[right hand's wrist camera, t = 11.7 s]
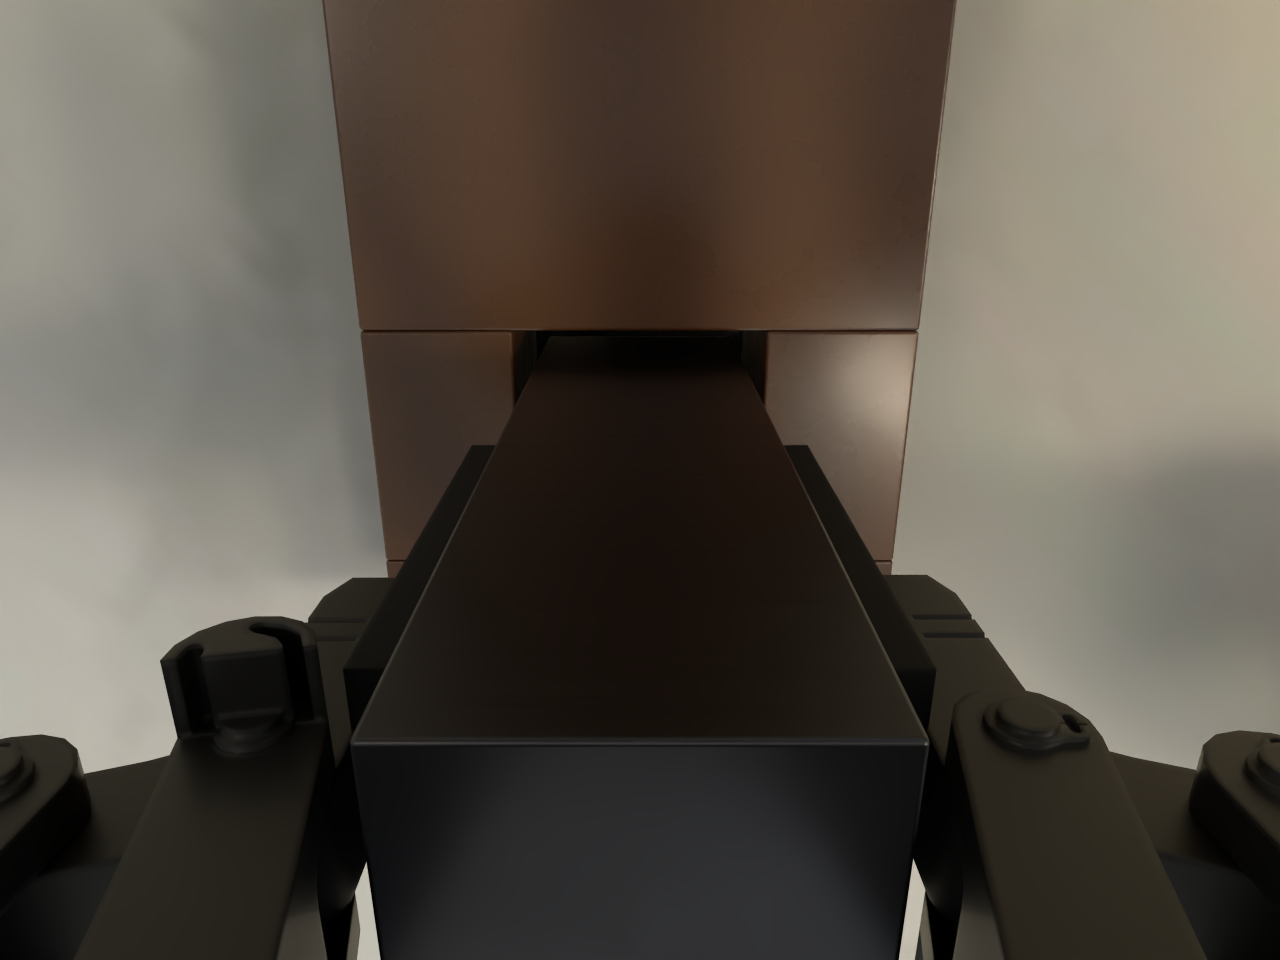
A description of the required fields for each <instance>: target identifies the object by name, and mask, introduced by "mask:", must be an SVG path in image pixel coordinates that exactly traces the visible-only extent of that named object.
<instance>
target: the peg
mask: <svg viewBox="0 0 1280 960" xmlns="http://www.w3.org/2000/svg"><path fill="white" fill-rule="evenodd" d="M929 744H930V741H929V738H928V736H927V734H926V732H925V730H924V728H923V726H922V724H921V722H920V720H919V718H918V716H917V714H916V712H915V710H914V708H913V706H912V704H911V702H910V700H909V698H908V696H907V694H906V692H905V690H904V688H903V686H902V684H901V681H900V679H899V677H898V675H897V673H896V671H895V669H894V667H893V665H892V663H891V661H890V659H889V657H888V655H887V653H886V651H885V649H884V647H883V645H882V643H881V641H880V639H879V637H878V635H877V633H876V631H875V629H874V627H873V625H872V623H871V621H870V619H869V617H868V615H867V613H866V611H865V609H864V607H863V605H862V603H861V601H860V599H859V597H858V595H857V593H856V591H855V589H854V587H853V585H852V583H851V581H850V578H849V576H848V574H847V572H846V570H845V568H844V566H843V564H842V562H841V560H840V558H839V556H838V554H837V552H836V550H835V548H834V546H833V544H832V542H831V540H830V538H829V536H828V534H827V532H826V530H825V528H824V526H823V524H822V522H821V520H820V518H819V516H818V514H817V512H816V510H815V508H814V506H813V504H812V502H811V500H810V498H809V496H808V494H807V492H806V490H805V488H804V486H803V484H802V482H801V480H800V478H799V476H798V473H797V471H796V469H795V467H794V465H793V463H792V461H791V459H790V457H789V455H788V453H787V451H786V449H785V447H784V445H783V443H782V441H781V439H780V437H779V435H778V433H777V431H776V429H775V427H774V425H773V423H772V421H771V419H770V417H769V415H768V413H767V411H766V409H765V407H764V405H763V403H762V401H761V399H760V397H759V395H758V393H757V391H756V389H755V387H754V385H753V383H752V381H751V379H750V377H749V375H748V373H747V370H746V368H745V366H744V364H743V362H742V360H741V358H740V356H739V354H738V352H737V350H736V348H735V346H734V344H733V342H732V340H731V338H730V337H728V336H551V337H549V339H548V341H547V343H546V345H545V347H544V349H543V351H542V353H541V355H540V357H539V359H538V361H537V363H536V365H535V367H534V369H533V371H532V373H531V375H530V377H529V379H528V381H527V383H526V385H525V387H524V389H523V392H522V394H521V396H520V398H519V400H518V402H517V404H516V406H515V408H514V410H513V412H512V414H511V416H510V418H509V420H508V422H507V424H506V426H505V428H504V430H503V432H502V434H501V436H500V438H499V440H498V442H497V444H496V446H495V448H494V450H493V452H492V454H491V456H490V458H489V460H488V462H487V464H486V466H485V468H484V470H483V472H482V474H481V476H480V478H479V480H478V482H477V484H476V486H475V488H474V490H473V492H472V494H471V496H470V498H469V501H468V503H467V505H466V507H465V509H464V511H463V513H462V515H461V517H460V519H459V521H458V523H457V525H456V527H455V529H454V531H453V533H452V535H451V537H450V539H449V541H448V543H447V545H446V547H445V549H444V551H443V553H442V555H441V557H440V559H439V561H438V563H437V565H436V567H435V569H434V571H433V573H432V575H431V577H430V579H429V581H428V583H427V585H426V587H425V589H424V591H423V593H422V595H421V597H420V599H419V601H418V603H417V605H416V608H415V610H414V612H413V614H412V616H411V618H410V620H409V622H408V624H407V626H406V628H405V630H404V632H403V634H402V636H401V638H400V640H399V642H398V644H397V646H396V648H395V650H394V652H393V654H392V656H391V658H390V660H389V662H388V664H387V666H386V668H385V670H384V672H383V674H382V676H381V678H380V680H379V682H378V684H377V686H376V688H375V690H374V692H373V694H372V696H371V698H370V700H369V702H368V704H367V706H366V708H365V710H364V712H363V714H362V717H361V719H360V721H359V723H358V725H357V727H356V729H355V731H354V733H353V735H352V737H351V739H350V749H351V756H352V763H353V770H354V777H355V784H356V791H357V798H358V805H359V812H360V819H361V826H362V833H363V840H364V847H365V854H366V861H367V868H368V874H369V881H370V888H371V895H372V902H373V909H374V916H375V923H376V930H377V937H378V944H379V951H380V958H381V960H899V953H900V946H901V939H902V933H903V926H904V919H905V912H906V905H907V898H908V891H909V884H910V877H911V870H912V863H913V856H914V849H915V842H916V835H917V828H918V821H919V814H920V807H921V800H922V793H923V786H924V779H925V772H926V765H927V758H928V751H929Z"/></svg>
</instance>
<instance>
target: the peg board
mask: <svg viewBox="0 0 1280 960" xmlns="http://www.w3.org/2000/svg"><path fill="white" fill-rule="evenodd" d="M956 1H957V0H322V3H323V11H324V20H325V29H326V38H327V46H328V55H329V64H330V72H331V81H332V90H333V99H334V107H335V116H336V125H337V133H338V142H339V151H340V159H341V168H342V177H343V186H344V194H345V203H346V212H347V220H348V229H349V238H350V247H351V255H352V264H353V273H354V281H355V290H356V299H357V307H358V316H359V325H360V328H361V330H363V331H361V343H362V351H363V360H364V369H365V378H366V386H367V395H368V404H369V412H370V421H371V430H372V438H373V447H374V456H375V465H376V473H377V482H378V491H379V499H380V508H381V517H382V526H383V534H384V543H385V552H386V558H387V559H388V560H387V562H386V563H387V571H388V578H395V577H396V576H397V574H398V572H399V570H400V569H401V567H402V565H403V564H404V562H405V560H406V558H407V557H408V555H409V553H410V551H411V550H412V548H413V546H414V544H415V543H416V541H417V539H418V538H419V536H420V534H421V532H422V531H423V529H424V527H425V525H426V524H427V522H428V520H429V518H430V517H431V515H432V513H433V512H434V510H435V508H436V506H437V505H438V503H439V501H440V499H441V498H442V496H443V494H444V492H445V491H446V489H447V487H448V486H449V484H450V482H451V480H452V479H453V477H454V475H455V473H456V472H457V470H458V468H459V466H460V465H461V463H462V461H463V460H464V458H465V456H466V454H467V453H468V451H469V449H470V447H471V446H472V445H496V444H497V442H498V440H499V438H500V436H501V434H502V432H503V430H504V428H505V426H506V424H507V422H508V420H509V418H510V416H511V414H512V412H513V410H514V408H515V406H516V404H517V402H518V400H519V398H520V396H521V394H522V392H523V389H524V387H525V385H526V383H527V381H528V379H529V377H530V375H531V373H532V371H533V369H534V367H535V365H536V363H537V340H536V331H743V339H742V362H743V364H744V366H745V368H746V370H747V373H748V375H749V377H750V379H751V381H752V383H753V385H754V387H755V389H756V391H757V393H758V395H759V397H760V399H761V401H762V403H763V405H764V407H765V409H766V411H767V413H768V415H769V417H770V419H771V421H772V423H773V425H774V427H775V429H776V431H777V433H778V435H779V437H780V439H781V441H782V443H783V445H808V447H809V448H810V450H811V452H812V454H813V455H814V457H815V459H816V461H817V462H818V464H819V466H820V467H821V469H822V471H823V473H824V474H825V476H826V478H827V480H828V481H829V483H830V485H831V487H832V488H833V490H834V492H835V494H836V495H837V497H838V499H839V500H840V502H841V504H842V506H843V507H844V509H845V511H846V513H847V514H848V516H849V518H850V520H851V521H852V523H853V525H854V526H855V528H856V530H857V532H858V533H859V535H860V537H861V539H862V540H863V542H864V544H865V546H866V547H867V549H868V551H869V552H870V554H871V556H872V558H873V559H874V561H875V563H876V565H877V566H878V568H879V570H880V572H881V573H882V575H891V570H892V558H893V551H894V542H895V533H896V525H897V516H898V507H899V499H900V490H901V481H902V473H903V464H904V455H905V446H906V438H907V429H908V420H909V412H910V403H911V394H912V385H913V377H914V368H915V359H916V351H917V342H918V332H917V331H916V330H918V328H919V323H920V314H921V306H922V297H923V288H924V280H925V271H926V262H927V253H928V245H929V236H930V227H931V219H932V210H933V201H934V192H935V184H936V175H937V166H938V158H939V149H940V140H941V131H942V123H943V114H944V105H945V97H946V88H947V79H948V70H949V62H950V53H951V44H952V35H953V27H954V18H955V9H956Z"/></svg>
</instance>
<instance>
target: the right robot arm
mask: <svg viewBox="0 0 1280 960" xmlns="http://www.w3.org/2000/svg"><path fill="white" fill-rule="evenodd" d="M495 446H496V445H472V446H471V447H470V449H469V451H468V453H467V454H466V456H465V458H464V460H463V461H462V463H461V465H460V466H459V468H458V470H457V472H456V473H455V475H454V477H453V479H452V480H451V482H450V484H449V486H448V487H447V489H446V491H445V492H444V494H443V496H442V498H441V499H440V501H439V503H438V505H437V506H436V508H435V510H434V512H433V513H432V515H431V517H430V518H429V520H428V522H427V524H426V525H425V527H424V529H423V531H422V532H421V534H420V536H419V538H418V539H417V541H416V543H415V544H414V546H413V548H412V550H411V551H410V553H409V555H408V557H407V558H406V560H405V562H404V564H403V565H402V567H401V569H400V570H399V572H398V574H397V576H396V577H395V578H352V579H350V580H349V581H347V582H346V583H344V584H342V585H341V586H339V587H338V588H336V589H335V590H333V591H332V592H330V593H328V594H327V595H325V596H324V597H323V598H322V600H321V601H320V603H319V604H318V605H317V607H316V608H315V610H314V611H313V612H312V614H311V615H310V617H309V618H308V623H304V622H302V621H298V620H294V619H290V618H286V617H282V616H272V617H250V618H244V619H239V620H233V621H227V622H224V623H221V624H218V625H215V626H212V627H210V628H207V629H204V630H201V631H198V632H196V633H195V634H193V635H191V636H190V637H188V638H186V639H184V640H183V641H181V642H179V643H178V644H176V645H174V646H173V647H172V649H171V650H170V651H169V652H168V653H167V654H166V655H165V656H164V657H163V658H162V659H161V660H160V662H161V667H162V671H163V676H164V680H165V684H166V689H167V693H168V698H169V702H170V706H171V711H172V715H173V719H174V724H175V728H176V733H177V737H178V739H177V741H176V743H175V745H174V747H173V749H172V751H171V754H170V755H169V756H165V757H162V758H158V759H154V760H150V761H146V762H141V763H136V764H131V765H126V766H121V767H116V768H111V769H106V770H101V771H96V772H91V773H86V774H84V772H83V768H82V765H81V761H80V758H79V754H78V751H77V749H76V748H75V747H74V746H73V745H72V744H70V743H69V742H68V741H67V740H66V739H64V738H58V737H53V736H47V735H31V736H20V737H9V738H4V739H0V960H357V954H358V945H359V937H360V924H359V917H358V910H357V903H356V897H355V890H356V887H357V885H358V882H359V880H360V877H361V874H362V872H363V869H364V867H365V864H366V854H365V847H364V840H363V833H362V826H361V819H360V812H359V805H358V798H357V791H356V784H355V777H354V770H353V763H352V756H351V749H350V739H351V737H352V735H353V733H354V731H355V729H356V727H357V725H358V723H359V721H360V719H361V717H362V714H363V712H364V710H365V708H366V706H367V704H368V702H369V700H370V698H371V696H372V694H373V692H374V690H375V688H376V686H377V684H378V682H379V680H380V678H381V676H382V674H383V672H384V670H385V668H386V666H387V664H388V662H389V660H390V658H391V656H392V654H393V652H394V650H395V648H396V646H397V644H398V642H399V640H400V638H401V636H402V634H403V632H404V630H405V628H406V626H407V624H408V622H409V620H410V618H411V616H412V614H413V612H414V610H415V608H416V605H417V603H418V601H419V599H420V597H421V595H422V593H423V591H424V589H425V587H426V585H427V583H428V581H429V579H430V577H431V575H432V573H433V571H434V569H435V567H436V565H437V563H438V561H439V559H440V557H441V555H442V553H443V551H444V549H445V547H446V545H447V543H448V541H449V539H450V537H451V535H452V533H453V531H454V529H455V527H456V525H457V523H458V521H459V519H460V517H461V515H462V513H463V511H464V509H465V507H466V505H467V503H468V501H469V498H470V496H471V494H472V492H473V490H474V488H475V486H476V484H477V482H478V480H479V478H480V476H481V474H482V472H483V470H484V468H485V466H486V464H487V462H488V460H489V458H490V456H491V454H492V452H493V450H494V448H495ZM784 447H785V449H786V451H787V453H788V455H789V457H790V459H791V461H792V463H793V465H794V467H795V469H796V471H797V473H798V476H799V478H800V480H801V482H802V484H803V486H804V488H805V490H806V492H807V494H808V496H809V498H810V500H811V502H812V504H813V506H814V508H815V510H816V512H817V514H818V516H819V518H820V520H821V522H822V524H823V526H824V528H825V530H826V532H827V534H828V536H829V538H830V540H831V542H832V544H833V546H834V548H835V550H836V552H837V554H838V556H839V558H840V560H841V562H842V564H843V566H844V568H845V570H846V572H847V574H848V576H849V578H850V581H851V583H852V585H853V587H854V589H855V591H856V593H857V595H858V597H859V599H860V601H861V603H862V605H863V607H864V609H865V611H866V613H867V615H868V617H869V619H870V621H871V623H872V625H873V627H874V629H875V631H876V633H877V635H878V637H879V639H880V641H881V643H882V645H883V647H884V649H885V651H886V653H887V655H888V657H889V659H890V661H891V663H892V665H893V667H894V669H895V671H896V673H897V675H898V677H899V679H900V681H901V684H902V686H903V688H904V690H905V692H906V694H907V696H908V698H909V700H910V702H911V704H912V706H913V708H914V710H915V712H916V714H917V716H918V718H919V720H920V722H921V724H922V726H923V728H924V730H925V732H926V734H927V736H928V738H929V741H930V744H929V751H928V758H927V765H926V772H925V779H924V786H923V793H922V800H921V807H920V814H919V821H918V828H917V835H916V842H915V849H914V856H913V859H914V861H915V864H916V866H917V869H918V871H919V874H920V877H921V879H922V882H923V884H924V887H925V897H924V903H923V910H922V916H921V923H920V930H919V936H918V943H917V949H916V956H915V960H1280V735H1277V734H1272V733H1261V732H1250V731H1233V732H1228V733H1222V734H1216V735H1215V736H1214V737H1212V738H1211V739H1210V740H1209V741H1208V742H1206V743H1205V744H1204V745H1203V748H1202V752H1201V755H1200V759H1199V762H1198V766H1197V769H1196V770H1193V769H1188V768H1183V767H1178V766H1173V765H1168V764H1163V763H1158V762H1153V761H1148V760H1143V759H1138V758H1133V757H1129V756H1125V755H1121V754H1118V753H1114V752H1110V751H1109V750H1108V748H1107V746H1106V744H1105V741H1104V739H1103V737H1102V736H1101V735H1100V733H1099V732H1098V731H1097V730H1096V728H1095V727H1094V726H1093V724H1092V723H1091V722H1090V721H1089V720H1088V719H1087V718H1085V717H1084V716H1083V715H1081V714H1080V713H1078V712H1077V711H1075V710H1074V709H1072V708H1071V707H1069V706H1068V705H1066V704H1064V703H1061V702H1059V701H1056V700H1054V699H1052V698H1049V697H1047V696H1044V695H1042V694H1039V693H1034V692H1029V691H1026V690H1025V689H1024V687H1023V686H1022V685H1021V683H1020V682H1019V681H1018V679H1017V678H1016V676H1015V675H1014V674H1013V672H1012V671H1011V669H1010V668H1009V667H1008V665H1007V664H1006V662H1005V661H1004V660H1003V658H1002V657H1001V656H1000V654H999V653H998V651H997V650H996V649H995V647H994V646H993V644H992V643H991V642H990V640H989V639H988V638H985V636H984V634H985V633H984V632H983V630H982V629H981V628H980V626H979V625H978V624H977V622H976V621H975V620H972V618H971V616H972V615H971V614H970V612H969V611H968V610H967V608H966V607H965V605H964V604H963V603H962V601H961V600H960V599H959V597H958V596H957V594H956V593H954V592H953V591H951V590H950V589H948V588H946V587H945V586H943V585H942V584H940V583H939V582H937V581H936V580H934V579H932V578H931V577H929V576H928V575H882V573H881V572H880V570H879V568H878V566H877V565H876V563H875V561H874V559H873V558H872V556H871V554H870V552H869V551H868V549H867V547H866V546H865V544H864V542H863V540H862V539H861V537H860V535H859V533H858V532H857V530H856V528H855V526H854V525H853V523H852V521H851V520H850V518H849V516H848V514H847V513H846V511H845V509H844V507H843V506H842V504H841V502H840V500H839V499H838V497H837V495H836V494H835V492H834V490H833V488H832V487H831V485H830V483H829V481H828V480H827V478H826V476H825V474H824V473H823V471H822V469H821V467H820V466H819V464H818V462H817V461H816V459H815V457H814V455H813V454H812V452H811V450H810V448H809V447H808V445H784Z"/></svg>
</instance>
